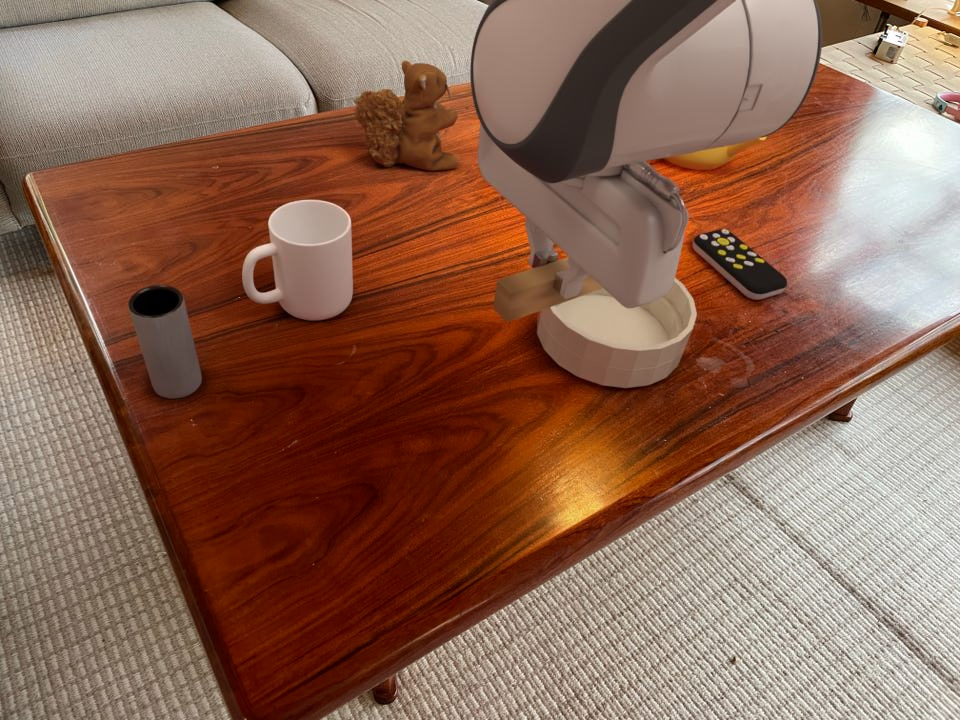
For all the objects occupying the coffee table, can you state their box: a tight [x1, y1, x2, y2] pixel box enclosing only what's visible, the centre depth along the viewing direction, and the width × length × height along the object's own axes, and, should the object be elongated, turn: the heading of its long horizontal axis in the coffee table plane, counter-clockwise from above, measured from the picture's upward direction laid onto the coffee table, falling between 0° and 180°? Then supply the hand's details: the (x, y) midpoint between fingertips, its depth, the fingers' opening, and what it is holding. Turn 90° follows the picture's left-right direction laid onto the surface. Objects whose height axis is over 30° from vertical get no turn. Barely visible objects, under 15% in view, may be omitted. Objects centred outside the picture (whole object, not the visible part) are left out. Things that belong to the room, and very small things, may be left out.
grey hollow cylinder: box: [127, 284, 203, 399], centre depth 68 cm, size 4×4×10 cm
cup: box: [241, 199, 354, 321], centre depth 78 cm, size 8×12×10 cm
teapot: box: [662, 136, 768, 171], centre depth 112 cm, size 20×18×11 cm
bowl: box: [536, 277, 698, 389], centre depth 80 cm, size 16×16×6 cm
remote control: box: [692, 228, 788, 301], centre depth 94 cm, size 6×13×2 cm, turn 27°
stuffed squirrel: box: [352, 60, 460, 172], centre depth 102 cm, size 10×14×13 cm
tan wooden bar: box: [492, 256, 602, 324], centre depth 60 cm, size 10×2×3 cm, turn 122°
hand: (553, 280), depth 60 cm, fingers closed on tan wooden bar, 2 cm apart
